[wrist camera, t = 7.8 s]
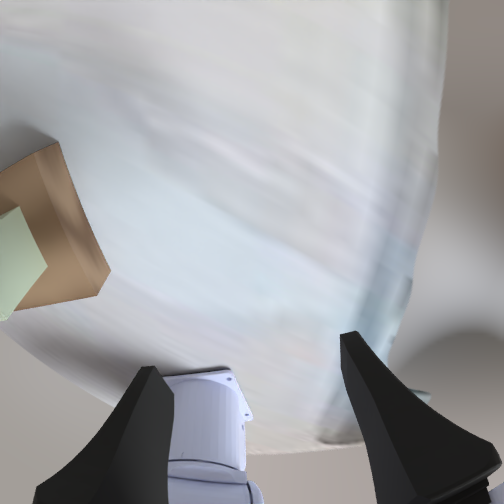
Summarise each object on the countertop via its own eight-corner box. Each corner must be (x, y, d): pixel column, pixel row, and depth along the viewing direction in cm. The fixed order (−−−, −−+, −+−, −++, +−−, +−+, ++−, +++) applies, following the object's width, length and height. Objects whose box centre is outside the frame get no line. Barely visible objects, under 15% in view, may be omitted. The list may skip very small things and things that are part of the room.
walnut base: (111, 270, 21) (96, 295, 18) (25, 290, 22) (9, 311, 19) (58, 142, 16) (33, 153, 13) (-23, 190, 17) (-46, 204, 14)
